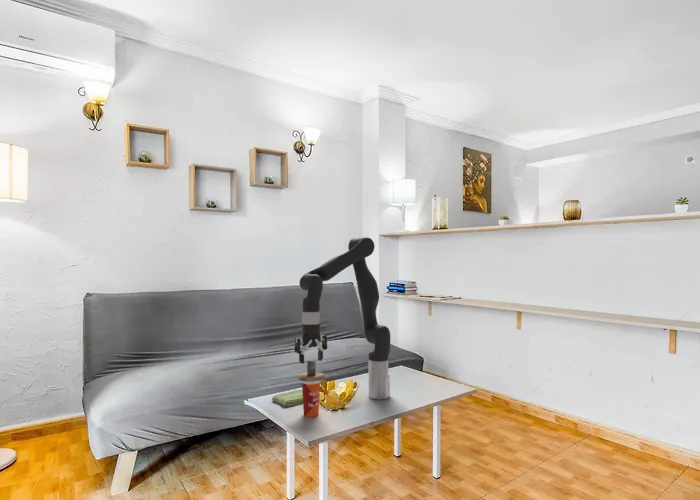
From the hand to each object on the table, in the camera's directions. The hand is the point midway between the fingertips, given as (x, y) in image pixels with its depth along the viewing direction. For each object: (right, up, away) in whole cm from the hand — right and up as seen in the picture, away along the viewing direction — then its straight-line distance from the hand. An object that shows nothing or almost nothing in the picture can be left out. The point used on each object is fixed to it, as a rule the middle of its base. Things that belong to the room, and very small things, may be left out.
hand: (311, 361), depth 173 cm
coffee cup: (0, -22, -1) cm, 22 cm away
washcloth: (-9, -23, +17) cm, 30 cm away
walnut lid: (0, -7, 0) cm, 7 cm away
